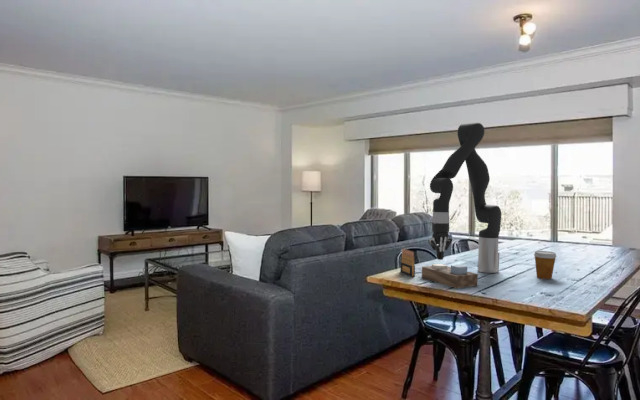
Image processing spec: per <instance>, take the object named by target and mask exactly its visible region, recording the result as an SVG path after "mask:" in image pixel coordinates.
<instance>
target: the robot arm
mask: <svg viewBox="0 0 640 400" xmlns="http://www.w3.org/2000/svg"><path fill="white" fill-rule="evenodd" d="M484 136H485V127H484V125H483V124H482V123H481V122H468V123H462V124H459V126H458V128H457V138H458V142H459V144H460V147H459V148H457V149H456V150H455V151H454V152H453V153H451V154H450V155H449V157H448V158H447V160H446V161H445V163H444V165H443V166H442V168H441V169H440V170H439V171H438V172H437V173H436V174H435V175H434V176H433V177H432V179H431V180H430V183H429V189H430V191H431V192H432V193H435V194H439V196H438V198H435V199H433V201H432V208H433V209H432V219H431V221H432V222H431V223H432V224H431V231H432V236H431V237H432V238H430V239H428V244H429V245H430V246H431V249H432V250H433V251H436V259H437V260H439V261H441V260H443V259H444V257H445V256H444V255H445V251H447V250H448V249H449V247H450V246H451V244H452V242H453V238H450V236H449V233H450V201H451V197H452V195H453V191H454V184H453V180H452V179H454V178H456V176H457V175H458V173H459V171H460V170H461V169H462V166H463V164H464V163H465V165H466V169H467V174H468V178H469V183H470V187H471V192H472V197H473V205H474V206H473V207H474V212H475V218H476V220H477V221H478V222H479V223H482V224H487V227H486V228H484V229H481V230H479V232H478V249H477V251H478V252H477V254H478V257H477V271H478V272H481V273H486V274H496V273H498V272H500V252H499V238H500V237H499V235H500V232H501V223H502V209H501V207H500V206H498V205H494V204H487V202H486V195H485V194H486V191H487V188H488V187H489V183H490V173H489V169H488V166H487V164H486V162H485V161H484V160H483V158H482V156H480V155H479V154H478V152H477V151H476V149H475V148H476V147H478V145H479V144H480V142H481V141H482V140H483V138H484Z"/></svg>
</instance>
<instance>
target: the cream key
mask: <svg viewBox="0 0 640 400" xmlns="http://www.w3.org/2000/svg"><path fill="white" fill-rule="evenodd" d="M431 266H432V268H436V269H447V266H448V265H447V264H442V263H433V264H431Z"/></svg>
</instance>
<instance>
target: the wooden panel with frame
mask: <svg viewBox="0 0 640 400" xmlns="http://www.w3.org/2000/svg"><path fill="white" fill-rule="evenodd" d="M399 271H400V273H401V274H402V275H403V274H404V275H405V276H408V277H410V278H415V277H416V266H415V253H414V250H413V251H412V250H409V249H406V248H404V247H403V248H402V250H401V262H400V270H399Z"/></svg>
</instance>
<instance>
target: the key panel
mask: <svg viewBox="0 0 640 400" xmlns="http://www.w3.org/2000/svg"><path fill="white" fill-rule="evenodd" d="M478 277H479V274H478V273H475V272H471V271H468V270H467V274H461V275H458V274H454V273H451V266H448V265H447V269H436V268H432V265H428V266H421V278H422V279H425V280H428V281H432V282H435V283H439V284H441V285H445V286H447V287H448V286H449V287H450V288H454V289H461V288H469V287H477V286H479V285H478V284H479V283H478V279H479V278H478Z"/></svg>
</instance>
